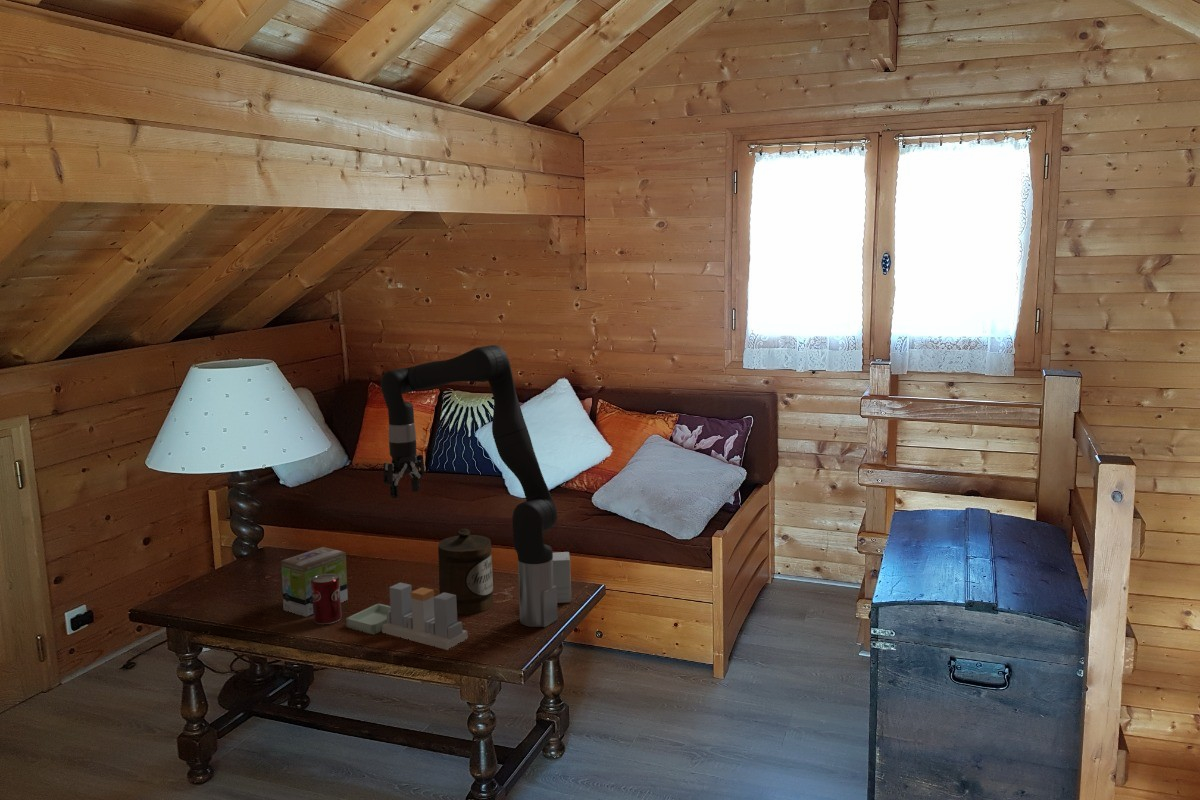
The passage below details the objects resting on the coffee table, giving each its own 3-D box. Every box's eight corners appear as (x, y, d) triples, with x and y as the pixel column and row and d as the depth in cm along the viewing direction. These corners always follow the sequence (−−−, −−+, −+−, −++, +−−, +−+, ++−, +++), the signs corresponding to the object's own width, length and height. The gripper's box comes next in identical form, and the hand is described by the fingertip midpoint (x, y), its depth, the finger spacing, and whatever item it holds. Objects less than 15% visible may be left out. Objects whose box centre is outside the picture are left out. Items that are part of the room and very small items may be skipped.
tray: (406, 618, 252) (405, 609, 251) (373, 634, 242) (373, 625, 241) (378, 611, 257) (378, 603, 256) (346, 627, 247) (345, 618, 246)
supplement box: (571, 593, 268) (570, 551, 266) (571, 603, 261) (570, 559, 259) (545, 594, 268) (544, 552, 266) (544, 604, 260) (543, 560, 258)
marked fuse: (435, 626, 241) (433, 589, 239) (424, 632, 237) (422, 595, 236) (423, 623, 243) (421, 587, 241) (412, 629, 239) (410, 592, 238)
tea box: (307, 618, 253) (303, 566, 251) (283, 611, 259) (279, 560, 256) (349, 600, 266) (346, 550, 264) (325, 594, 271) (322, 545, 269)
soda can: (313, 627, 247) (310, 583, 245) (314, 616, 254) (311, 574, 252) (341, 623, 249) (339, 580, 247) (341, 613, 256) (339, 571, 254)
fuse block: (467, 638, 238) (465, 593, 236) (447, 650, 231) (445, 603, 229) (403, 622, 249) (401, 579, 248) (382, 632, 243) (379, 588, 241)
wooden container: (483, 616, 252) (480, 538, 249) (432, 613, 255) (428, 535, 252) (500, 596, 267) (497, 522, 263) (451, 593, 270) (447, 520, 266)
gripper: (394, 444, 256) (397, 502, 259) (429, 435, 268) (432, 490, 271) (374, 442, 260) (377, 498, 263) (409, 433, 272) (412, 487, 275)
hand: (405, 494), depth 267 cm, fingers open, 8 cm apart
